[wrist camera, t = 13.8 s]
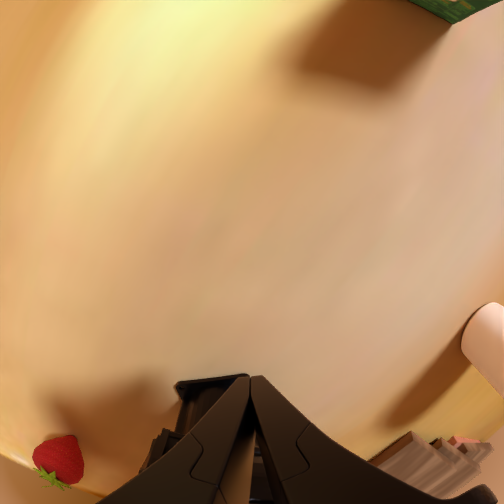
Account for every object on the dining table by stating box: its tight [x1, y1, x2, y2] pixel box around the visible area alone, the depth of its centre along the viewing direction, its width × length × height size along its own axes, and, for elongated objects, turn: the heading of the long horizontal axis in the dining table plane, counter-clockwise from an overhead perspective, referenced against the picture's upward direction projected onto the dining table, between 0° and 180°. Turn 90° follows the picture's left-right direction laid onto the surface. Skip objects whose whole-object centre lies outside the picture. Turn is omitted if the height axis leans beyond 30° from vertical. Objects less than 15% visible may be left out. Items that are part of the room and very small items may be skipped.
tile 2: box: [427, 438, 481, 499], centre depth 26 cm, size 2×10×11 cm
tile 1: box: [369, 431, 457, 493], centre depth 26 cm, size 2×10×11 cm
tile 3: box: [457, 443, 494, 464], centre depth 28 cm, size 2×10×11 cm
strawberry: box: [32, 435, 84, 491], centre depth 22 cm, size 6×8×10 cm
